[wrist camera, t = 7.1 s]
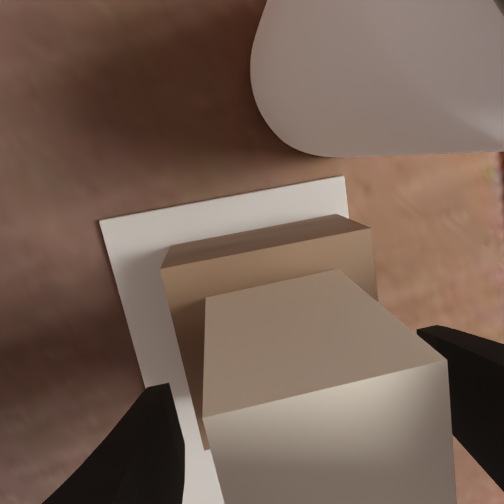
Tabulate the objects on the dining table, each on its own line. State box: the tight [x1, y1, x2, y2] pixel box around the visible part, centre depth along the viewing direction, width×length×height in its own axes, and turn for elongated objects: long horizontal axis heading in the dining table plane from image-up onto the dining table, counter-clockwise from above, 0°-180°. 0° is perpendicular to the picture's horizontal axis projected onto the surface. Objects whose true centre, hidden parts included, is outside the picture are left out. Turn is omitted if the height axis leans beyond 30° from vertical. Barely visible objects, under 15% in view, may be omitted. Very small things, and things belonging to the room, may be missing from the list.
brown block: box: [160, 214, 378, 451], centre depth 15 cm, size 7×7×4 cm
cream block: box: [202, 269, 457, 504], centre depth 10 cm, size 4×4×6 cm
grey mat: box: [99, 175, 349, 504], centre depth 17 cm, size 16×10×1 cm, turn 10°
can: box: [250, 0, 504, 157], centre depth 9 cm, size 6×6×12 cm
